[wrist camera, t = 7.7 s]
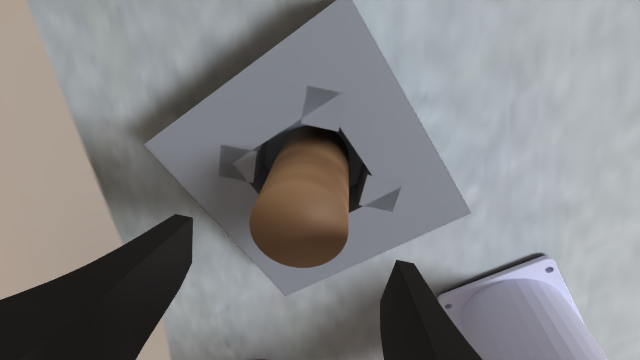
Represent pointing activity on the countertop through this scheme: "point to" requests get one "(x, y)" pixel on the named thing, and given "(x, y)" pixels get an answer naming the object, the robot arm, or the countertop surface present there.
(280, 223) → the walnut pin
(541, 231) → the countertop surface
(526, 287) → the robot arm
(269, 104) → the bore block
